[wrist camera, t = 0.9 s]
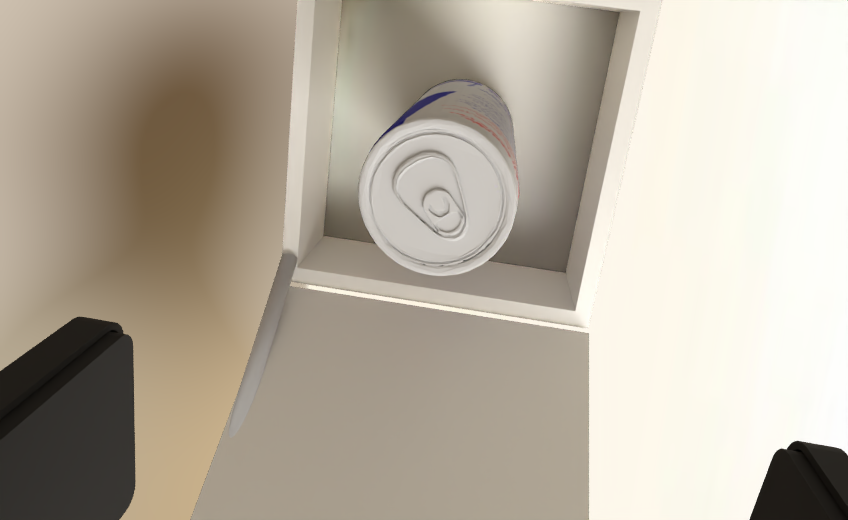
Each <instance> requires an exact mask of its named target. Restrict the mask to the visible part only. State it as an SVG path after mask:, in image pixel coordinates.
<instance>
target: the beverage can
mask: <svg viewBox="0 0 848 520" xmlns="http://www.w3.org/2000/svg"><path fill="white" fill-rule="evenodd" d="M358 199H359V206H360V211H361V215H362V218H363V221H364V224H365V226H366V228H367V230H368V231H369V233H370V235H371V237H372V238H373V240H374V241H375V243H376V244H377V245H378V247H379V248H380V249H381V250H382V251H383V252H384V253H385V254H386V255H388V256H389V257H390V258H391V259H393V260H394V261H395V262H397V263H398V264H400V265H402V266H404V267H406V268H408V269H410V270H413V271H415V272H419V273H422V274H427V275H433V276H447V275H456V274H461V273H464V272H468V271H470V270H472V269H474V268H476V267H478V266H480V265H482V264H484V263H485V262H486V261H487V260H489V259H490V258H491V257H492V256H494V255H495V254H496V252H497V251H498V250H499V249H500V248H501V246H502V245H503V244H504V242H505V241H506V239H507V237H508V235H509V233H510V231H511V229H512V226H513V222H514V218H515V215H516V212H517V207H518V201H519V180H518V170H517V160H516V151H515V141H514V131H513V123H512V119H511V115H510V113H509V110H508V108H507V106H506V105H505V103H504V102H503V100H502V99H501V98H500V97H499V96H498V95H497V94H496V93H495V92H494V91H493V90H492V89H490V88H489V87H487V86H485V85H483V84H481V83H479V82H475V81H471V80H465V79H457V80H450V81H445V82H443V83H440V84H438V85H436V86H434V87H433V88H431V89H429V90H428V91H427V92H426V93H425V94H424V95H423V96H422V97H421V98H420V99H419V100H418V101H417V102H416V103H415V104H414V105H413V106H412V107H411V108H410V109H409V110H408V111H407V112H405V113H404V114H403V115H402V116H401V117H400V118H399V119H398V120H397V121H396V122H395V123H394V124H393V125H392V126H391V127H390V128H389V129H388V130H387V131H386V132H385V133H384V134H383V135H382V136H381V137H380V138H379V139H378V141H377V142H376V143H375V144H374V146H373V147H372V149H371V151H370V152H369V154H368V156H367V158H366V160H365V162H364V164H363V167H362V171H361V174H360V179H359V185H358Z"/></svg>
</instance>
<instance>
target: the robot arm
mask: <svg viewBox="0 0 848 520" xmlns="http://www.w3.org/2000/svg"><path fill="white" fill-rule="evenodd" d="M133 373H134V371H133V341H132V339H131V337H130V336H129V335H126V334H123V330H122V327H121V326H120V325H119V324H118V323H115V322H109V321H102V320H97V319H92V318H86V317H77V318H74V319H72V320H71V321H70V322H68V323H67V324H65V325H64V326H63V327H61V328H60V329H58V330H57V331H56V332H54V333H53V334H51V335H50V336H49V337H47V338H46V339H44V340H43V341H42V342H40V343H39V344H38V345H36V346H35V347H33V348H32V349H31V350H29V351H28V352H26V353H25V354H24V355H22V356H21V357H19V358H18V359H17V360H15V361H14V362H12V363H11V364H10V365H8V366H7V367H5V368H4V369H3V370H1V371H0V520H119V519H120V518H121V517H122V515H123V514H124V513H125V511H126V510H127V508H128V507H129V505H130V503H131V500H132V497H133V494H134V490H135V435H134V434H135V432H134V375H133ZM750 520H848V455H847V454H846V453H845V452H844V451H843V450H842V449H839V448H835V447H829V446H824V445H818V444H812V443H806V442H801V441H795V442H793V443H791V444H790V446H789V447H788V448H787V450H786V449H779V450H777V452H776V453H775V454H774V456H773V458H772V461H771V463H770V466H769V469H768V471H767V474H766V477H765V479H764V482H763V485H762V488H761V490H760V493H759V496H758V498H757V501H756V504H755V506H754V509H753V512H752V514H751V517H750Z"/></svg>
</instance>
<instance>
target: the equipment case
mask: <svg viewBox="0 0 848 520" xmlns="http://www.w3.org/2000/svg"><path fill="white" fill-rule="evenodd" d="M531 1H539V2H546V3H554V4H562V5H569V6H577V7H585V8H592V9H600V10H608V11H615V12H620V14H619V18H618V23H617V28H616V33H615V38H614V42H613V47H612V52H611V57H610V62H609V67H608V71H607V76H606V81H605V86H604V91H603V95H602V100H601V105H600V110H599V115H598V120H597V124H596V129H595V134H594V139H593V144H592V148H591V153H590V158H589V163H588V168H587V172H586V177H585V182H584V187H583V192H582V197H581V201H580V206H579V211H578V216H577V221H576V225H575V230H574V235H573V240H572V245H571V250H570V254H569V259H568V264H567V269H566V273H564V272H557V271H551V270H544V269H537V268H531V267H524V266H518V265H511V264H505V263H498V262H492V261H486V262H485V263H484V264H482V265H480V266H478V267H476V268H474V269H472V270H470V271H468V272H464V273H461V274H456V275H447V276H433V275H427V274H422V273H419V272H415V271H413V270H410V269H408V268H406V267H404V266H402V265H400V264H398V263H397V262H395V261H394V260H393V259H391V258H390V257H389V256H388V255H386V254H385V253H384V252H383V251H382V250H381V249H380V248H379V247H378V245H377V244H374V243H368V242H361V241H355V240H348V239H342V238H335V237H329V236H324V224H325V212H326V199H327V186H328V174H329V161H330V149H331V136H332V123H333V111H334V98H335V85H336V73H337V60H338V48H339V35H340V22H341V10H342V0H297V12H296V31H295V48H294V64H293V82H292V99H291V115H290V132H289V149H288V166H287V184H286V200H285V218H284V235H283V253H282V257H281V260H280V263H279V267H278V270H277V273H276V276H275V279H274V282H273V285H272V288H271V291H270V295H269V298H268V301H267V304H266V307H265V310H264V313H263V316H262V320H261V323H260V326H259V329H258V332H257V335H256V339H255V341H254V345H253V348H252V351H251V354H250V357H249V360H248V363H247V366H246V370H245V373H244V376H243V379H242V382H241V385H240V388H239V391H238V394H237V397H236V399H235V402H234V404H233V407H232V410H231V412H230V415H229V418H228V421H227V423H226V426H225V429H224V431H223V434H222V436H221V439H220V442H219V444H218V447H217V450H216V453H215V455H214V458H213V461H212V463H211V466H210V469H209V471H208V474H207V477H206V479H205V482H204V484H203V487H202V490H201V493H200V495H199V498H198V501H197V503H196V506H195V509H194V511H193V514H192V517H191V519H190V520H589V333H584V332H577V331H571V330H565V329H558V328H552V327H546V326H539V325H533V324H527V323H520V322H514V321H508V320H501V319H495V318H489V317H482V316H476V315H470V314H463V313H457V312H451V311H444V310H438V309H432V308H425V307H419V306H413V305H406V304H400V303H394V302H387V301H381V300H375V299H368V298H362V297H356V296H349V295H343V294H337V293H330V292H324V291H318V290H311V289H305V288H299V287H292V286H290V283H291V282H297V283H303V284H309V285H316V286H322V287H328V288H335V289H341V290H347V291H354V292H360V293H366V294H373V295H379V296H385V297H392V298H398V299H404V300H411V301H417V302H423V303H430V304H436V305H443V306H449V307H455V308H462V309H468V310H474V311H481V312H487V313H493V314H500V315H506V316H512V317H519V318H525V319H531V320H538V321H544V322H550V323H557V324H563V325H569V326H576V327H582V328H588V327H589V323H590V319H591V314H592V310H593V305H594V301H595V296H596V292H597V288H598V283H599V279H600V274H601V270H602V265H603V261H604V257H605V252H606V248H607V243H608V239H609V235H610V230H611V226H612V221H613V217H614V212H615V208H616V204H617V199H618V195H619V190H620V186H621V181H622V177H623V173H624V168H625V164H626V159H627V155H628V151H629V146H630V142H631V137H632V133H633V128H634V124H635V120H636V115H637V111H638V106H639V102H640V97H641V93H642V89H643V84H644V80H645V75H646V71H647V67H648V62H649V58H650V53H651V49H652V44H653V40H654V36H655V31H656V27H657V22H658V18H659V13H660V9H661V5H662V0H531Z"/></svg>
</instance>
